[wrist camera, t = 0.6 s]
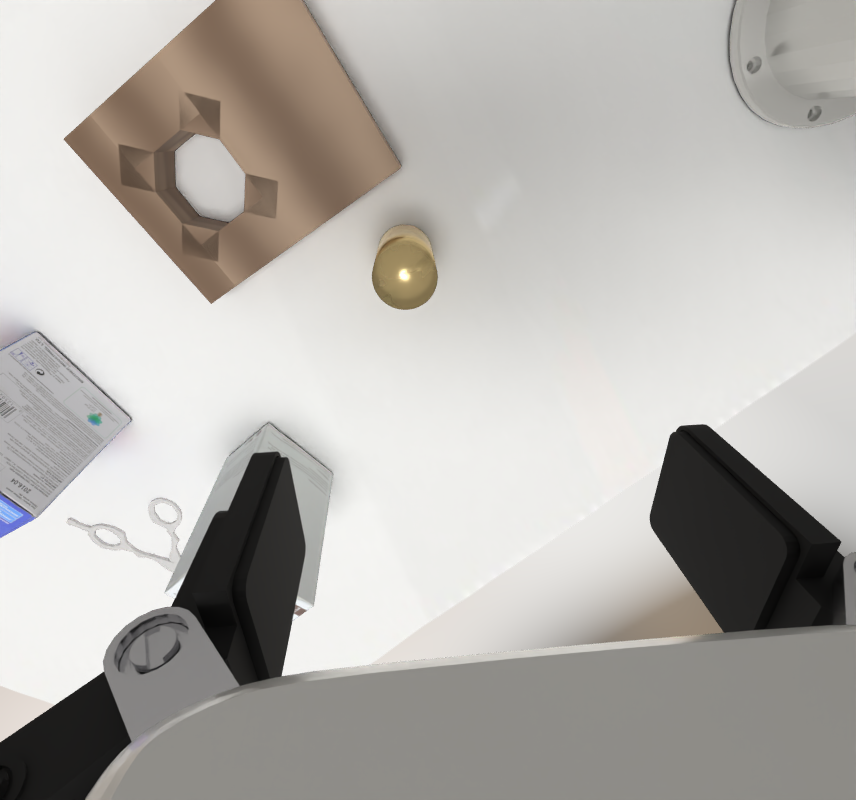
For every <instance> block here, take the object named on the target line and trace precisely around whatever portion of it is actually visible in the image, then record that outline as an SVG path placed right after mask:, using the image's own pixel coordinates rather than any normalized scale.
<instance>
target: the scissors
mask: <svg viewBox="0 0 856 800" xmlns="http://www.w3.org/2000/svg"><path fill="white" fill-rule="evenodd" d="M159 503H166V504H168V505H170V506H172V507H173V508H174V509H175V511H176V512H177V520H176V521H174V522H172V523H167V522H165V521H163V520H161V519H160V518H159V517H158V515H157V514H156V512H155V505H157V504H159ZM148 511H149V516H150V518H151V520H152V522H153V523H155V524H158V525H160V526H162V527H164V528H167V532H168V533H169V535H170V536H171V539H172V548H171V552H170V559H168V558H165V557H161V556H158V555H154V554H150V553H146V552H143V551H141V550H139V549H137V548H135V547H134V546H133V545H132V544H130V543H129V542H128V541H127V538H126V534H125V532H124V531H122V530H121V529H119V528H117V527H114V526H111V525H107V524H96V525H94V526H89V525H86V524H83V523H80V522H78V521H77V520H75V519H73V518H69V519H68V520H67V522H66V523H67V524H69V525H71V526H75V527H78V528H80V529H82V530H85V531H88V532H89V533H88V535H89V537H90V538H91V540H92V541H93V542H94V543H96V544H97V545H98V546H100V547H102V548H105V549H109V550H126V551H130V552H133V553H134V554H135V555H137V556H138V557H143V558H149V559H152V560H155V561H156V562H158V563H159V564H160V565H162V566H163V567H164V568H166V569H167V570H169V571H171V572H174V571H175V568H176V566H177V564H178V562H179V560H180V558H181V555H180V553H179V551H178V549H177V543H178V541H179V538H178V537H177V536H176V534H175V533H174V531H175V529H176V527H177V526H178V525H179V524H180V522H181V520H182V512H181V509H180V508H179V507H178V506H177V504H176V503H174V502H173V501H171V500H168V499H165V498H156V499H154V500H152V501H151V503H150V505H149V507H148ZM99 529H106V530H109V531H111V532H113V533H114V534H115V535H117V536H118V538H119V539H120V543H119V544H116V545H112V544H108V543H105V542H103V541H102V540H101V539H100V538H98V537H97V535H96V530H99Z"/></svg>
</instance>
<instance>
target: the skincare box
mask: <svg viewBox="0 0 856 800" xmlns="http://www.w3.org/2000/svg"><path fill="white" fill-rule="evenodd" d="M276 451H278V452H279V453H280V455H281V457H288V459H289V462H290V467H291V472H292V477H293V482H294V487H295V492H296V497H297V502H298V507H299V512H300V517H301V522H302V527H303V532H304V537H305V544H306V552H305V559H304V565H303V570H302V575H301V580H300V585H299V590H298V595H297V600H296V605H295V610H294V615H293V620H295V619H296V618H298V617H299V616H300V615H302V614H303V613H304V612H306V611H307V610H309V609H310V608H312V607H313V606H314V601H315V594H316V587H317V580H318V573H319V566H320V559H321V552H322V546H323V540H324V532H325V526H326V519H327V512H328V505H329V498H330V491H331V485H332V478H333V473H332V472H330V471H329V470H328V469H327V468H325V467H324V466H323V465H322V464H320V463H319V462H318V461H316V460H315V459H314V458H313V457H311V456H310V455H309V454H308V453H306V452H305V451H304V450H302V449H301V448H300V447H299V446H297V445H296V444H295V443H294V442H292V441H291V440H290V439H288V438H287V437H286V436H284V435H283V434H282V433H280V432H279V431H278V430H277V429H276V428H274V427H273V426H272V425H271V424H269V423H268V424H266V425H265V426H264V427H263V428H262V429H260V430H259V431H258V432H257V433H256V434H255V435H253V436H252V437H251V438H250V439H249V440H248V441H246V442H245V443H244V444H243V445H242V446H241V447H239V448H238V449H237V450H236V451H235V452H234V453H232V454H231V455H230V456H229V457H228V458H227V459H226V461H225V463H224V465H223V467H222V469H221V472H220V474H219V476H218V478H217V480H216V482H215V484H214V487H213V489H212V491H211V493H210V495H209V497H208V500H207V502H206V504H205V506H204V508H203V510H202V513H201V515H200V517H199V519H198V521H197V523H196V525H195V527H194V530H193V532H192V534H191V536H190V538H189V540H188V542H187V545H186V547H185V549H184V551H183V553H182V555H181V558H180V560H179V562H178V564H177V566H176V568H175V571H174V573H173V575H172V577H171V579H170V581H169V584H168V586H167V588H166V590H165V594H166V595H168V596H170V597H172V598H174V599H175V598H176V596H177V593H178V591H179V589H180V587H181V585H182V583H183V581H184V578H185V576H186V574H187V572H188V570H189V568H190V566H191V563H192V561H193V559H194V557H195V555H196V553H197V551H198V548H199V546H200V544H201V542H202V540H203V538H204V536H205V533H206V531H207V529H208V527H209V525H210V523H211V521H212V518H213V517H214V515H215V514H216V513H217V512H218V511H227V510H228V509H229V507H230V504H231V502H232V500H233V498H234V495H235V493H236V491H237V488H238V486H239V484H240V481H241V479H242V477H243V475H244V472H245V470H246V468H247V465H248V463H249V461H250V458H251V456H252V455H253V453H260V452H276ZM293 620H292V621H293Z"/></svg>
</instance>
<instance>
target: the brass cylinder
mask: <svg viewBox="0 0 856 800" xmlns="http://www.w3.org/2000/svg"><path fill="white" fill-rule="evenodd" d="M437 278H438V276H437V269H436V265H435V260H434V256H433V252H432V247H431V243H430V241H429V239H428V237H427V236H426V234H425V233H424V232H423V231H421V230H420V229H419V228H417V227H415V226H412V225H398V226H395V227H393V228H391V229H389V230H388V231H387V232H386V233H385V234H384V235H383V237H382V238H381V240H380V243H379V246H378V250H377V255H376V259H375V263H374V267H373V271H372V281H373V286H374V289H375V291H376V293H377V295H378V296H379V297H380V298H381V300H383V301H384V302H385V303H386V304H388V305H389V306H391V307H394V308H397V309H403V310H408V309H414V308H417V307H419V306H421V305H423V304H424V303H426V302H427V301H428V300H429V299H430V297H431V296H432V295H433V293H434V291H435V289H436V286H437Z"/></svg>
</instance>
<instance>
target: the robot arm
mask: <svg viewBox="0 0 856 800" xmlns="http://www.w3.org/2000/svg"><path fill="white" fill-rule="evenodd" d="M730 62H731V67H732V72H733V77H734V81H735V83H736V85H737V88H738V90H739V92H740V95H741V97H742V98H743V99H744V101H745V102H746V103H747V105H748V106H749V107H750V109H751V110H752V111H753V112H755V113H756V114H757V115H759V116H760V117H761V118H763V119H764V120H766V121H768V122H771V123H773V124H776V125H778V126H784V127H791V128H814V127H819V126H824V125H829V124H833V123H835V122H838V121H840V120H843V119H846V118H848V117H851V116H853V115H854V114H856V0H737V1H736V5H735V8H734V12H733V18H732V25H731V32H730ZM748 64H749V67H748V69H747V65H748ZM650 524H651V527H652V529H653V531H654V532H655V534H656V535H657V537H658V538H659V540H660V541H661V542H662V544H663V545H664V547H665V548H666V550H667V551H668V552H669V554H670V555H671V557H672V558H673V560H674V561H675V563H676V564H677V565H678V567H679V568H680V570H681V571H682V573H683V574H684V576H685V577H686V578H687V580H688V581H689V583H690V584H691V586H692V587H693V588H694V590H695V591H696V593H697V594H698V595H699V597H700V599H701V600H702V601H703V603H704V604H705V606H706V607H707V608H708V610H709V611H710V613H711V614H712V616H713V617H714V619H715V620H716V622H717V623H718V625H719V626H720V627H721V629H722V630H723V632H724V633H716V634H703V635H691V636H680V637H667V638H655V639H643V640H632V641H621V642H611V643H600V644H599V643H598V644H587V645H576V646H564V647H553V648H542V649H531V650H520V651H509V652H498V653H488V654H477V655H467V656H457V657H445V658H436V659H424V660H414V661H403V662H393V663H384V664H375V665H366V666H357V667H348V668H339V669H330V670H321V671H313V672H307V673H300V674H294V675H288V676H282V671H283V665H284V660H285V655H286V650H287V645H288V640H289V635H290V630H291V625H292V620H293V615H294V610H295V605H296V600H297V595H298V590H299V585H300V580H301V575H302V570H303V565H304V559H305V552H306V544H305V537H304V532H303V527H302V522H301V517H300V512H299V507H298V502H297V497H296V492H295V487H294V482H293V477H292V472H291V467H290V462H289V459H288V457H281V455H280V453H279V452H278V451H276V452H260V453H253V455H252V456H251V458H250V461H249V463H248V465H247V468H246V470H245V472H244V475H243V477H242V479H241V481H240V484H239V486H238V488H237V491H236V493H235V495H234V498H233V500H232V502H231V504H230V507H229V509H228V510H227V511H218V512H217V513H216V514H215V515H214V517H213V518H212V521H211V523H210V525H209V527H208V529H207V531H206V533H205V536H204V538H203V540H202V542H201V544H200V546H199V548H198V551H197V553H196V555H195V557H194V559H193V561H192V563H191V566H190V568H189V570H188V572H187V574H186V576H185V578H184V581H183V583H182V585H181V587H180V589H179V591H178V593H177V596H176V598H175V600H174V602H173V604H172V606H171V607H164V608H160V609H156V610H152V611H150V612H148V613H146V614H144V615H142V616H140V617H138V618H136V619H135V620H134V621H132V622H131V623H129V624H128V625H126V626H125V627H124V628H123V629H122V630H121V631H120V632H119V633H118V634H117V635H116V636H115V637H114V639H113V640H112V642H111V644H110V645H109V647H108V648H107V650H106V654H105V657H104V660H103V665H104V672H103V673H101V674H100V675H98V676H97V677H96V678H94V679H93V680H91V681H90V682H88V683H87V684H85V685H84V686H82V687H81V688H79V689H78V690H76V691H75V692H74V693H72V694H71V695H69V696H68V697H66V698H65V699H63V700H62V701H60V702H59V703H57V704H56V705H54V706H53V707H52V708H50V709H49V710H47V711H46V712H44V713H43V714H41V715H40V716H39V717H37V718H35V719H34V720H33V721H31V722H30V723H28V724H27V725H25V726H24V727H22V728H21V729H19V730H18V731H16V732H15V733H13V734H12V735H11V736H9V737H8V738H6V739H5V740H3V741H2V742H0V800H856V552H854V553H850V554H849V555H847V556H846V557H843V556H842V555H841V554H840V553H839V552H838V551H837V549H838V548H839V546H840V544H841V541H840V540H839V539H837V538H836V537H835V536H834V535H833V534H832V533H831V532H829V531H828V530H827V529H826V528H825V527H824V526H823V525H822V524H820V523H819V522H818V521H817V520H816V519H815V518H814V517H812V516H811V515H810V514H809V513H808V512H807V511H805V510H804V509H803V508H802V507H801V506H800V505H799V504H797V503H796V502H795V501H794V500H793V499H792V498H790V497H789V496H788V495H787V494H786V493H785V492H784V491H782V490H781V489H780V488H779V487H778V486H777V485H776V484H774V483H773V482H772V481H771V480H770V479H769V478H767V477H766V476H765V475H764V474H763V473H762V472H761V471H760V470H758V469H757V468H756V467H755V466H754V465H753V464H751V463H750V462H749V461H748V460H747V459H746V458H744V457H743V456H742V455H741V454H740V453H739V452H738V451H737V450H735V449H734V448H733V447H732V446H731V445H730V444H728V443H727V442H726V441H725V440H724V439H723V438H722V437H720V436H719V435H718V434H717V433H716V432H715V431H714V430H712V429H711V428H710V427H709V426H707V425H703V424H701V425H685V426H680V427H679V428H678V429H677V430H676V432H673V433H672V434H671V435H670V438H669V442H668V446H667V450H666V454H665V457H664V461H663V465H662V469H661V473H660V478H659V481H658V485H657V489H656V493H655V497H654V501H653V505H652V509H651V513H650Z"/></svg>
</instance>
